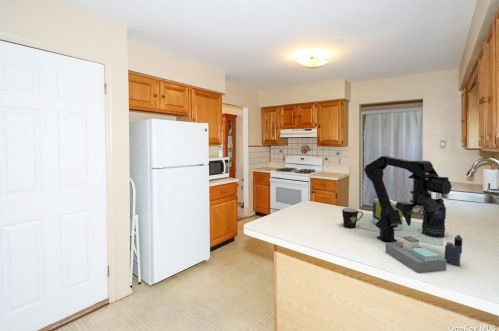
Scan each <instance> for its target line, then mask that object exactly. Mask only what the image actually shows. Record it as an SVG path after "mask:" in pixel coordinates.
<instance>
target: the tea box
mask: <svg viewBox="0 0 499 331" xmlns="http://www.w3.org/2000/svg"><path fill="white" fill-rule="evenodd" d="M389 200H390V202H391V205H392V207H393V208H394V209H395V210H397V208H396V203H397V202H398V201H396V200H393V199H391V198H389ZM398 211H399V214H400V216H401V218H400V219H401V222H400V224H399V225H398V226H397V228H393V229H394V231H402V230H403V217H404V216H403V214H402V212H401V211H400V210H398ZM380 213H381V207H380V204H379V201H378V198H372V221H371V222H372V223H374V224H375V225H376V223H377V222H378V221H379V220H381V218H380Z"/></svg>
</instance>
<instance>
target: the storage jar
mask: <svg viewBox="0 0 499 331" xmlns="http://www.w3.org/2000/svg"><path fill="white" fill-rule="evenodd" d="M446 215H447V207H446V206H445V210H442V211H441V212H438V213H436V215H435V216H434V218H433V220H432V222H431V224H430V225H428V224H427V220H426V209H425V208H422V222H421V233H422V235H424V236H426V237H430V238H436V239H439V238H445V233H446V225H445V224H446Z"/></svg>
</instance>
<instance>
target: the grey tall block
mask: <svg viewBox="0 0 499 331" xmlns="http://www.w3.org/2000/svg"><path fill="white" fill-rule="evenodd" d="M402 242H403V249H405V250H406V251H408V252H410V253H411V249H414V248H419V246H420V240H419V239H417V238H415V237H413V236H410V235H408V236H403V237H402Z"/></svg>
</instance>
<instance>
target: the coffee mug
mask: <svg viewBox="0 0 499 331" xmlns="http://www.w3.org/2000/svg"><path fill="white" fill-rule="evenodd" d="M341 212H342V221H343V223H342V224H343V227H344V228H346V229H353V230H354V229H356V227H357V222H358V221H359V220H360V219H362V218H363V216H364V212H362V210H358V209H357V208H354V207H353V208H352V207H343V208H341ZM359 213H361V216H360V217H359V218H358V214H359Z"/></svg>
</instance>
